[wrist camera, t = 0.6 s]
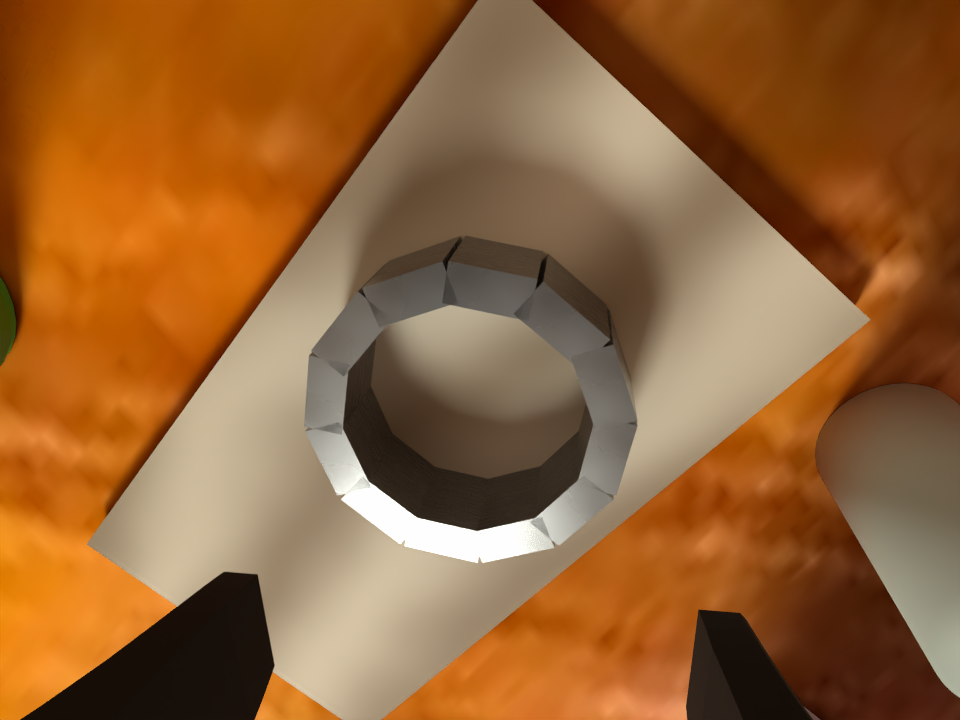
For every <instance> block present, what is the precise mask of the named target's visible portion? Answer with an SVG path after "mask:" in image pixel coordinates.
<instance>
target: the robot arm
mask: <svg viewBox="0 0 960 720" xmlns="http://www.w3.org/2000/svg"><path fill="white" fill-rule="evenodd" d="M274 666H275V664H274V659H273V654H272V648H271V643H270V637H269V632H268V627H267V621H266V616H265V611H264V605H263V600H262V595H261V589H260V584H259V579H258V574H248V573H235V572H223V573H221V574H220V575H219V576H217V577H216V578H214V579H213V580H212V581H210V582H209V583H208V584H206V585H205V586H204V587H202V588H201V589H200V590H198V591H197V592H196V593H194V594H193V595H192V596H190V597H189V598H188V599H186V600H185V601H184V602H183V603H181V604H180V605H179V606H177V607H176V608H175V609H173V610H172V611H171V612H170V613H168V614H167V615H166V616H164V617H163V618H162V619H160V620H159V621H158V622H157V623H155V624H154V625H153V626H151V627H150V628H149V629H147V630H146V631H145V632H143V633H142V634H141V635H139V636H138V637H137V638H135V639H134V640H133V641H131V642H130V643H129V644H127V645H126V646H125V647H123V648H122V649H121V650H119V651H118V652H117V653H115V654H114V655H113V656H111V657H110V658H109V659H107V660H106V661H105V662H103V663H102V664H100V665H99V666H97V667H96V668H95V669H93V670H92V671H90V672H89V673H87V674H86V675H85V676H83V677H82V678H80V679H79V680H77V681H76V682H75V683H73V684H72V685H70V686H69V687H67V688H66V689H65V690H63V691H62V692H60V693H59V694H57V695H56V696H55V697H53V698H52V699H50V700H49V701H47V702H46V703H45V704H43V705H42V706H40V707H39V708H37V709H36V710H34V711H33V712H31V713H30V714H28V715H27V716H25V717H24V718H22V719H20V720H254V719H255V717H256V714H257V712H258V709H259V707H260V704H261V702H262V699H263V696H264V694H265V691H266V688H267V685H268V683H269V680H270V677H271V674H272V672H273V669H274ZM686 710H687V720H820V719H819V718H818V717H816V716H815V715H814V714H813V713H811V712H810V711H809V710H808V709H806V708H805V707H804V706H803V705H802V704H801V702H800V701H799V699H798V698H797V697H796V695H795V694H794V692H793V691H792V689H791V688H790V686H789V685H788V683H787V682H786V681H785V679H784V678H783V676H782V675H781V673H780V672H779V670H778V669H777V667H776V666H775V664H774V663H773V661H772V660H771V658H770V657H769V655H768V654H767V652H766V650H765V649H764V647H763V646H762V644H761V643H760V641H759V639H758V638H757V636H756V635H755V633H754V632H753V630H752V628H751V627H750V625H749V623H748V622H747V620H746V619H745V618H744V617H743V616H742V615H741V614H740V613H733V612H721V611H708V610H699V611H698V619H697V626H696V634H695V642H694V650H693V657H692V665H691V673H690V681H689V689H688V696H687V704H686Z"/></svg>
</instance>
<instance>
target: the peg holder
mask: <svg viewBox="0 0 960 720" xmlns="http://www.w3.org/2000/svg"><path fill="white" fill-rule="evenodd" d="M868 321H870V319H869V318H868V317H867V316H866V315H865V314H864V313H863V312H862V311H861V310H860V309H858V308H857V307H856V306H855V305H854V304H853V303H852V302H851V301H850V300H849V299H848V298H847V297H846V296H845V295H844V294H843V293H842V292H840V291H839V290H838V289H837V288H836V287H835V286H834V285H833V284H832V283H831V282H830V281H829V280H828V279H827V278H826V277H825V276H824V275H822V274H821V273H820V272H819V271H818V270H817V269H816V268H815V267H814V266H813V265H812V264H811V263H810V262H809V261H808V260H807V259H806V258H804V257H803V256H802V255H801V254H800V253H799V252H798V251H797V250H796V249H795V248H794V247H793V246H792V245H791V244H790V243H789V242H788V241H786V240H785V239H784V238H783V237H782V236H781V235H780V234H779V233H778V232H777V231H776V230H775V229H774V228H773V227H772V226H771V225H770V224H768V223H767V222H766V221H765V220H764V219H763V218H762V217H761V216H760V215H759V214H758V213H757V212H756V211H755V210H754V209H753V208H752V207H750V206H749V205H748V204H747V203H746V202H745V201H744V200H743V199H742V198H741V197H740V196H739V195H738V194H737V193H736V192H735V191H734V190H732V189H731V188H730V187H729V186H728V185H727V184H726V183H725V182H724V181H723V180H722V179H721V178H720V177H719V176H718V175H717V174H716V173H714V172H713V171H712V170H711V169H710V168H709V167H708V166H707V165H706V164H705V163H704V162H703V161H702V160H701V159H700V158H699V157H698V156H696V155H695V154H694V153H693V152H692V151H691V150H690V149H689V148H688V147H687V146H686V145H685V144H684V143H683V142H682V141H681V140H680V139H678V138H677V137H676V136H675V135H674V134H673V133H672V132H671V131H670V130H669V129H668V128H667V127H666V126H665V125H664V124H663V123H662V122H660V121H659V120H658V119H657V118H656V117H655V116H654V115H653V114H652V113H651V112H650V111H649V110H648V109H647V108H646V107H645V106H644V105H642V104H641V103H640V102H639V101H638V100H637V99H636V98H635V97H634V96H633V95H632V94H631V93H630V92H629V91H628V90H627V89H626V88H624V87H623V86H622V85H621V84H620V83H619V82H618V81H617V80H616V79H615V78H614V77H613V76H612V75H611V74H610V73H609V72H608V71H606V70H605V69H604V68H603V67H602V66H601V65H600V64H599V63H598V62H597V61H596V60H595V59H594V58H593V57H592V56H591V55H590V54H588V53H587V52H586V51H585V50H584V49H583V48H582V47H581V46H580V45H579V44H578V43H577V42H576V41H575V40H574V39H573V38H572V37H570V36H569V35H568V34H567V33H566V32H565V31H564V30H563V29H562V28H561V27H560V26H559V25H558V24H557V23H556V22H555V21H554V20H552V19H551V18H550V17H549V16H548V15H547V14H546V13H545V12H544V11H543V10H542V9H541V8H540V7H539V6H538V5H537V4H536V3H534V2H533V1H532V0H478V1H477V2H476V4H475V5H474V6H473V8H472V9H471V11H470V12H469V13H468V15H467V16H466V18H465V19H464V20H463V22H462V23H461V25H460V26H459V27H458V29H457V30H456V32H455V33H454V34H453V36H452V37H451V38H450V40H449V41H448V43H447V44H446V45H445V47H444V48H443V50H442V51H441V52H440V54H439V55H438V57H437V58H436V59H435V61H434V62H433V63H432V65H431V66H430V68H429V69H428V70H427V72H426V73H425V75H424V76H423V77H422V79H421V80H420V82H419V83H418V84H417V86H416V87H415V89H414V90H413V91H412V93H411V94H410V95H409V97H408V98H407V100H406V101H405V102H404V104H403V105H402V107H401V108H400V109H399V111H398V112H397V114H396V115H395V116H394V118H393V119H392V120H391V122H390V123H389V125H388V126H387V127H386V129H385V130H384V132H383V133H382V134H381V136H380V137H379V139H378V140H377V141H376V143H375V144H374V145H373V147H372V148H371V150H370V151H369V152H368V154H367V155H366V157H365V158H364V159H363V161H362V162H361V164H360V165H359V166H358V168H357V169H356V171H355V172H354V173H353V175H352V176H351V177H350V179H349V180H348V182H347V183H346V184H345V186H344V187H343V189H342V190H341V191H340V193H339V194H338V196H337V197H336V198H335V200H334V201H333V202H332V204H331V205H330V207H329V208H328V209H327V211H326V212H325V214H324V215H323V216H322V218H321V219H320V221H319V222H318V223H317V225H316V226H315V228H314V229H313V230H312V232H311V233H310V234H309V236H308V237H307V239H306V240H305V241H304V243H303V244H302V246H301V247H300V248H299V250H298V251H297V253H296V254H295V255H294V257H293V258H292V259H291V261H290V262H289V264H288V265H287V266H286V268H285V269H284V271H283V272H282V273H281V275H280V276H279V278H278V279H277V280H276V282H275V283H274V285H273V286H272V287H271V289H270V290H269V291H268V293H267V294H266V296H265V297H264V298H263V300H262V301H261V303H260V304H259V305H258V307H257V308H256V310H255V311H254V312H253V314H252V315H251V316H250V318H249V319H248V321H247V322H246V323H245V325H244V326H243V328H242V329H241V330H240V332H239V333H238V335H237V336H236V337H235V339H234V340H233V342H232V343H231V344H230V346H229V347H228V348H227V350H226V351H225V353H224V354H223V355H222V357H221V358H220V360H219V361H218V362H217V364H216V365H215V367H214V368H213V369H212V371H211V372H210V373H209V375H208V376H207V378H206V379H205V380H204V382H203V383H202V385H201V386H200V387H199V389H198V390H197V392H196V393H195V394H194V396H193V397H192V399H191V400H190V401H189V403H188V404H187V405H186V407H185V408H184V410H183V411H182V412H181V414H180V415H179V417H178V418H177V419H176V421H175V422H174V424H173V425H172V426H171V428H170V429H169V430H168V432H167V433H166V435H165V436H164V437H163V439H162V440H161V442H160V443H159V444H158V446H157V447H156V449H155V450H154V451H153V453H152V454H151V455H150V457H149V458H148V460H147V461H146V462H145V464H144V465H143V467H142V468H141V469H140V471H139V472H138V474H137V475H136V476H135V478H134V479H133V481H132V482H131V483H130V485H129V486H128V487H127V489H126V490H125V492H124V493H123V494H122V496H121V497H120V499H119V500H118V501H117V503H116V504H115V506H114V507H113V508H112V510H111V511H110V512H109V514H108V515H107V517H106V518H105V519H104V521H103V522H102V524H101V525H100V526H99V528H98V529H97V531H96V532H95V533H94V535H93V536H92V538H91V539H90V540H89V542H88V543H87V545H89V546H90V547H91V548H93V549H94V550H96V551H97V552H99V553H100V554H102V555H103V556H105V557H106V558H108V559H109V560H110V561H112V562H113V563H115V564H116V565H118V566H119V567H121V568H122V569H124V570H125V571H126V572H128V573H129V574H131V575H132V576H134V577H135V578H137V579H138V580H140V581H141V582H142V583H144V584H145V585H147V586H148V587H150V588H151V589H153V590H154V591H156V592H157V593H159V594H160V595H161V596H163V597H164V598H166V599H167V600H169V601H170V602H172V603H173V604H175V605H176V606H179V605H180V604H181V603H183V602H184V601H185V600H186V599H188V598H189V597H190V596H192V595H193V594H194V593H196V592H197V591H198V590H200V589H201V588H202V587H204V586H205V585H206V584H208V583H209V582H210V581H212V580H213V579H214V578H216V577H217V576H219V575H220V574H221V573H223V572H235V573H248V574H258V579H259V584H260V589H261V595H262V600H263V605H264V611H265V616H266V621H267V627H268V632H269V637H270V643H271V648H272V654H273V659H274V664H275V666H274V669H273V672H274V673H275V674H277V675H278V676H279V677H281V678H282V679H284V680H285V681H287V682H288V683H290V684H291V685H293V686H294V687H295V688H297V689H298V690H300V691H301V692H303V693H304V694H306V695H307V696H309V697H310V698H311V699H313V700H314V701H316V702H317V703H319V704H320V705H322V706H323V707H325V708H326V709H328V710H329V711H330V712H332V713H333V714H335V715H336V716H338V717H339V718H341V719H342V720H381V719H383V718H384V717H385V716H386V715H388V714H389V713H390V712H391V711H392V710H394V709H395V708H396V707H397V706H399V705H400V704H401V703H402V702H403V701H405V700H406V699H407V698H408V697H410V696H411V695H412V694H413V693H414V692H416V691H417V690H418V689H419V688H421V687H422V686H423V685H424V684H426V683H427V682H428V681H429V680H430V679H432V678H433V677H434V676H435V675H437V674H438V673H439V672H440V671H441V670H443V669H444V668H445V667H446V666H448V665H449V664H450V663H451V662H452V661H454V660H455V659H456V658H457V657H459V656H460V655H461V654H462V653H463V652H465V651H466V650H467V649H468V648H470V647H471V646H472V645H473V644H474V643H476V642H477V641H478V640H479V639H481V638H482V637H483V636H484V635H485V634H487V633H488V632H489V631H490V630H492V629H493V628H494V627H495V626H496V625H498V624H499V623H500V622H501V621H503V620H504V619H505V618H506V617H507V616H509V615H510V614H511V613H512V612H514V611H515V610H516V609H517V608H518V607H520V606H521V605H522V604H523V603H525V602H526V601H527V600H528V599H529V598H531V597H532V596H533V595H534V594H536V593H537V592H538V591H539V590H540V589H542V588H543V587H544V586H545V585H547V584H548V583H549V582H550V581H552V580H553V579H554V578H555V577H556V576H558V575H559V574H560V573H561V572H563V571H564V570H565V569H566V568H567V567H569V566H570V565H571V564H572V563H574V562H575V561H576V560H577V559H578V558H580V557H581V556H582V555H583V554H585V553H586V552H587V551H588V550H589V549H591V548H592V547H593V546H594V545H596V544H597V543H598V542H599V541H600V540H602V539H603V538H604V537H605V536H607V535H608V534H609V533H610V532H611V531H613V530H614V529H615V528H616V527H618V526H619V525H620V524H621V523H622V522H624V521H625V520H626V519H627V518H629V517H630V516H631V515H632V514H633V513H635V512H636V511H637V510H638V509H640V508H641V507H642V506H643V505H644V504H646V503H647V502H648V501H649V500H651V499H652V498H653V497H654V496H655V495H657V494H658V493H659V492H660V491H662V490H663V489H664V488H665V487H667V486H668V485H669V484H670V483H671V482H673V481H674V480H675V479H676V478H678V477H679V476H680V475H681V474H682V473H684V472H685V471H686V470H687V469H689V468H690V467H691V466H692V465H693V464H695V463H696V462H697V461H698V460H700V459H701V458H702V457H703V456H704V455H706V454H707V453H708V452H709V451H711V450H712V449H713V448H714V447H715V446H717V445H718V444H719V443H720V442H722V441H723V440H724V439H725V438H726V437H728V436H729V435H730V434H731V433H733V432H734V431H735V430H736V429H737V428H739V427H740V426H741V425H742V424H744V423H745V422H746V421H747V420H748V419H750V418H751V417H752V416H753V415H755V414H756V413H757V412H758V411H759V410H761V409H762V408H763V407H764V406H766V405H767V404H768V403H769V402H770V401H772V400H773V399H774V398H775V397H777V396H778V395H779V394H780V393H782V392H783V391H784V390H785V389H786V388H788V387H789V386H790V385H791V384H793V383H794V382H795V381H796V380H797V379H799V378H800V377H801V376H802V375H804V374H805V373H806V372H807V371H808V370H810V369H811V368H812V367H813V366H815V365H816V364H817V363H818V362H819V361H821V360H822V359H823V358H824V357H826V356H827V355H828V354H829V353H830V352H832V351H833V350H834V349H835V348H837V347H838V346H839V345H840V344H841V343H843V342H844V341H845V340H846V339H848V338H849V337H850V336H851V335H852V334H854V333H855V332H856V331H857V330H859V329H860V328H861V327H862V326H863V325H865V324H866V323H867V322H868Z"/></svg>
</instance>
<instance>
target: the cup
mask: <svg viewBox="0 0 960 720" xmlns="http://www.w3.org/2000/svg"><path fill="white" fill-rule="evenodd" d="M15 333H16V317H15V312H14V306H13V302H12V300H11V297H10V295H9V292H8V290H7V287H6V285H5V284H4V282H3V280H2V279H1V277H0V366H1V365H2V363H3V362H4V361H5V358H6V356H7V354H8V353H9V352H10V350H11V348H12V345H13V342H14V339H15Z"/></svg>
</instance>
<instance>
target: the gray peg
mask: <svg viewBox="0 0 960 720" xmlns="http://www.w3.org/2000/svg"><path fill="white" fill-rule="evenodd" d="M815 459H816V465H817V469H818V472H819V474H820V476H821V478H822V480H823V481H824V483H825V485H826V487H827V488H828V490H829V492H830V493H831V495H832V497H833V498H834V500H835V502H836V504H837V505H838V507H839V509H840V510H841V512H842V514H843V516H844V517H845V519H846V521H847V522H848V524H849V526H850V527H851V529H852V531H853V533H854V534H855V536H856V538H857V539H858V541H859V543H860V545H861V546H862V548H863V550H864V551H865V553H866V555H867V556H868V558H869V560H870V562H871V563H872V565H873V567H874V568H875V570H876V572H877V573H878V575H879V577H880V579H881V580H882V582H883V584H884V585H885V587H886V589H887V591H888V592H889V594H890V596H891V597H892V599H893V601H894V602H895V604H896V606H897V608H898V609H899V611H900V613H901V614H902V616H903V618H904V620H905V621H906V623H907V625H908V626H909V628H910V630H911V631H912V633H913V635H914V637H915V638H916V640H917V642H918V643H919V645H920V647H921V649H922V650H923V652H924V654H925V655H926V657H927V659H928V660H929V662H930V664H931V666H932V667H933V669H934V671H935V672H936V674H937V676H938V677H939V678H940V680H941V681H942V683H943V684H944V685H945V686H946V687H947V688H948V689H949V690H950V691H951V692H953V693H954V694H955V695H957V696H958V697H959V698H960V405H959V404H958V403H957V402H956V401H955V400H953V399H952V398H951V397H950V396H948V395H946V394H945V393H943V392H941V391H939V390H937V389H934V388H931V387H928V386H924V385H918V384H909V383H899V384H889V385H884V386H879V387H876V388H873V389H870V390H867V391H865V392H862V393H860V394H858V395H856V396H855V397H853V398H851V399H850V400H848V401H847V402H845V403H844V404H842V405H841V406H840V407H839V408H838V409H837V410H836V411H835V412H834V413H833V414H832V415H831V416H830V417H829V418H828V420H827V421H826V423H825V424H824V426H823V428H822V430H821V432H820V434H819V437H818V439H817V443H816V449H815Z"/></svg>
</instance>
